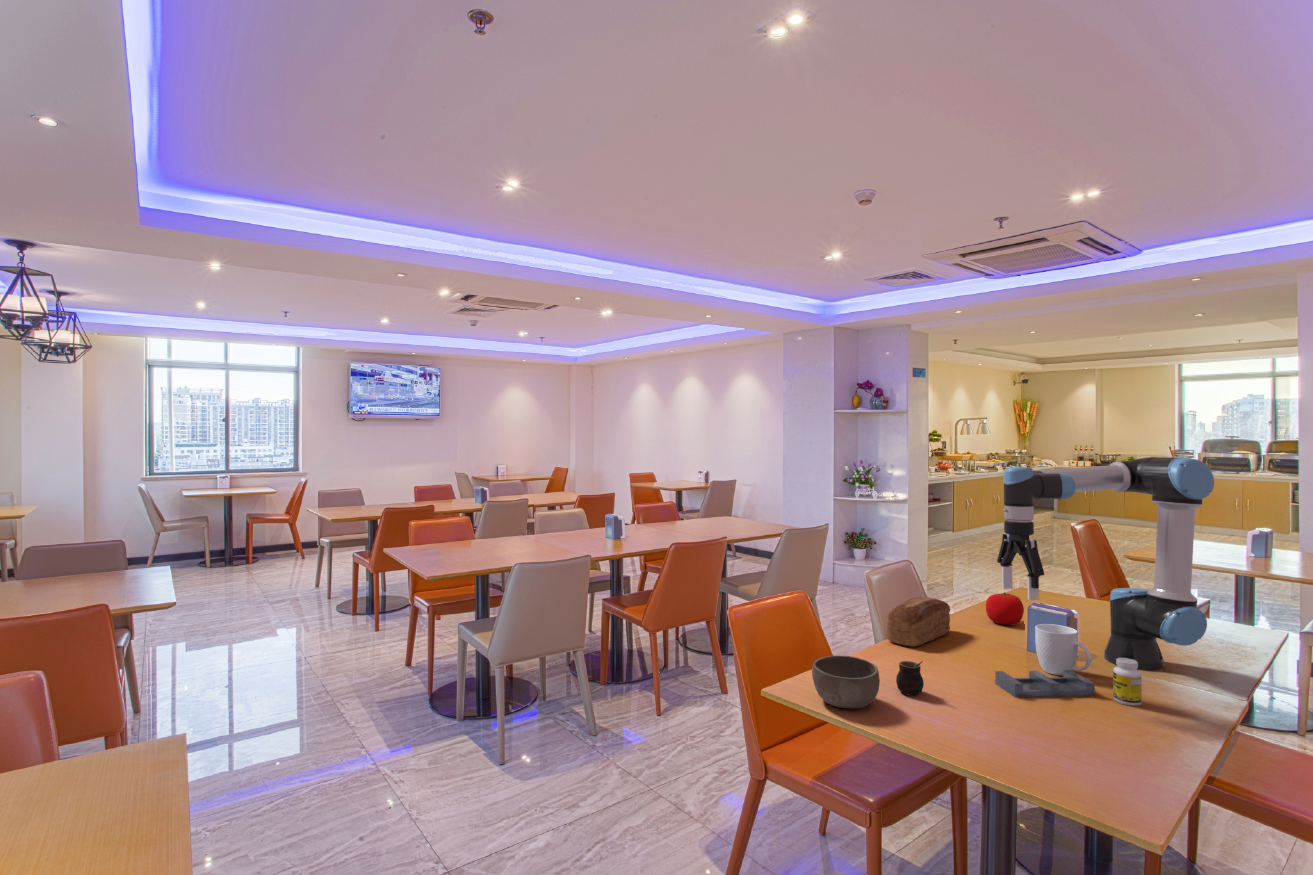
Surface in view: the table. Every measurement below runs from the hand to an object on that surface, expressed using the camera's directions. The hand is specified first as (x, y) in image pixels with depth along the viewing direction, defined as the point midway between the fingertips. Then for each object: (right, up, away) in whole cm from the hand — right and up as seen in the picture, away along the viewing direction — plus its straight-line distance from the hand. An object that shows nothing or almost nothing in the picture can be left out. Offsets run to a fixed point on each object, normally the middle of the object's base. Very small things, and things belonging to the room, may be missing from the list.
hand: (1019, 593), depth 190 cm
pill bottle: (+20, -26, -15) cm, 36 cm away
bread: (-11, -26, +44) cm, 52 cm away
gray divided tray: (+3, -25, -6) cm, 26 cm away
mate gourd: (-35, -26, -8) cm, 44 cm away
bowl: (-55, -26, -14) cm, 62 cm away
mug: (+16, -26, +7) cm, 31 cm away
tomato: (+28, -26, +61) cm, 72 cm away
